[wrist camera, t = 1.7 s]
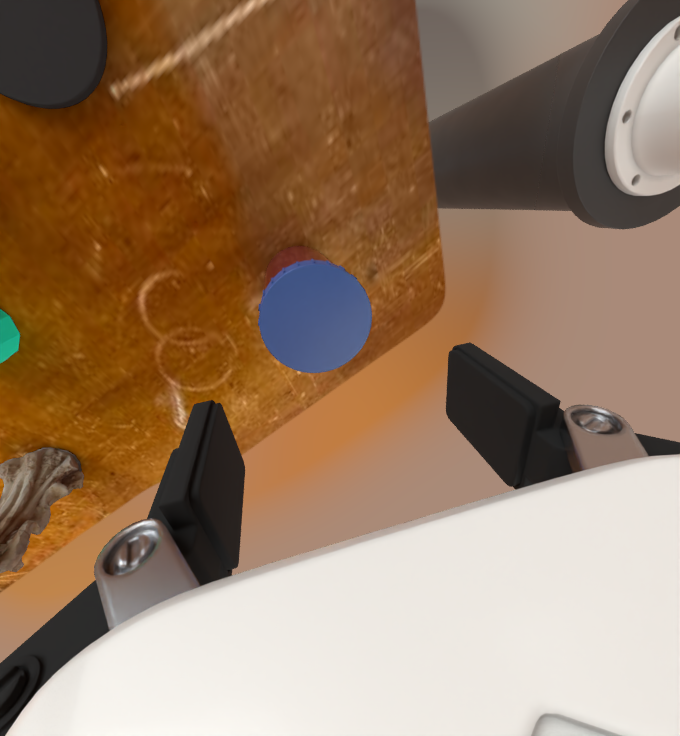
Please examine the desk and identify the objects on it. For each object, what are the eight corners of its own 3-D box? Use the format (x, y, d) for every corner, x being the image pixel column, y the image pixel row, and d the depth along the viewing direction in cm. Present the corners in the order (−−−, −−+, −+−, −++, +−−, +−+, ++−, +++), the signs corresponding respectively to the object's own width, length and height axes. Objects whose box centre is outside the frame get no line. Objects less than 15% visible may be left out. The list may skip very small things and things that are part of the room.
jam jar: (330, 240, 27) (362, 257, 18) (339, 310, 30) (370, 356, 21) (255, 252, 26) (249, 277, 17) (273, 323, 29) (276, 376, 20)
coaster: (54, -124, 16) (45, -139, 15) (134, 101, 20) (129, 97, 20) (-148, -121, 15) (-169, -137, 14) (-18, 116, 19) (-29, 113, 18)
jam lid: (360, 249, 19) (368, 253, 17) (369, 351, 22) (376, 361, 20) (245, 269, 18) (243, 275, 16) (273, 371, 21) (273, 383, 20)
